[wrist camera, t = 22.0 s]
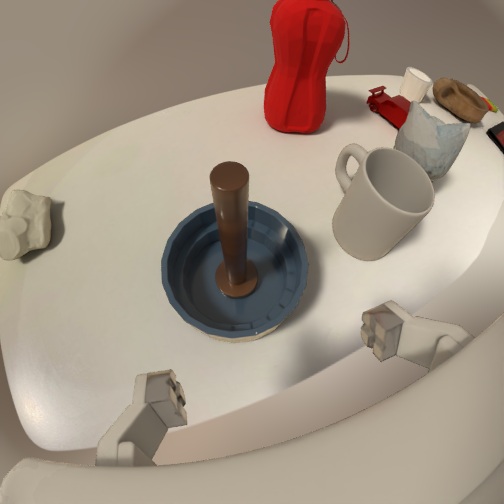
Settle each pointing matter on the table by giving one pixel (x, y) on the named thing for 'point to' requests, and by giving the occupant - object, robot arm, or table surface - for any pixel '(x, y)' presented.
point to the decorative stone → (24, 224)
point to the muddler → (233, 229)
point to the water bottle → (302, 62)
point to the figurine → (431, 141)
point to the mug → (379, 200)
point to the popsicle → (490, 105)
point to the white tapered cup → (415, 85)
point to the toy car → (389, 106)
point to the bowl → (460, 99)
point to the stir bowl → (210, 257)
